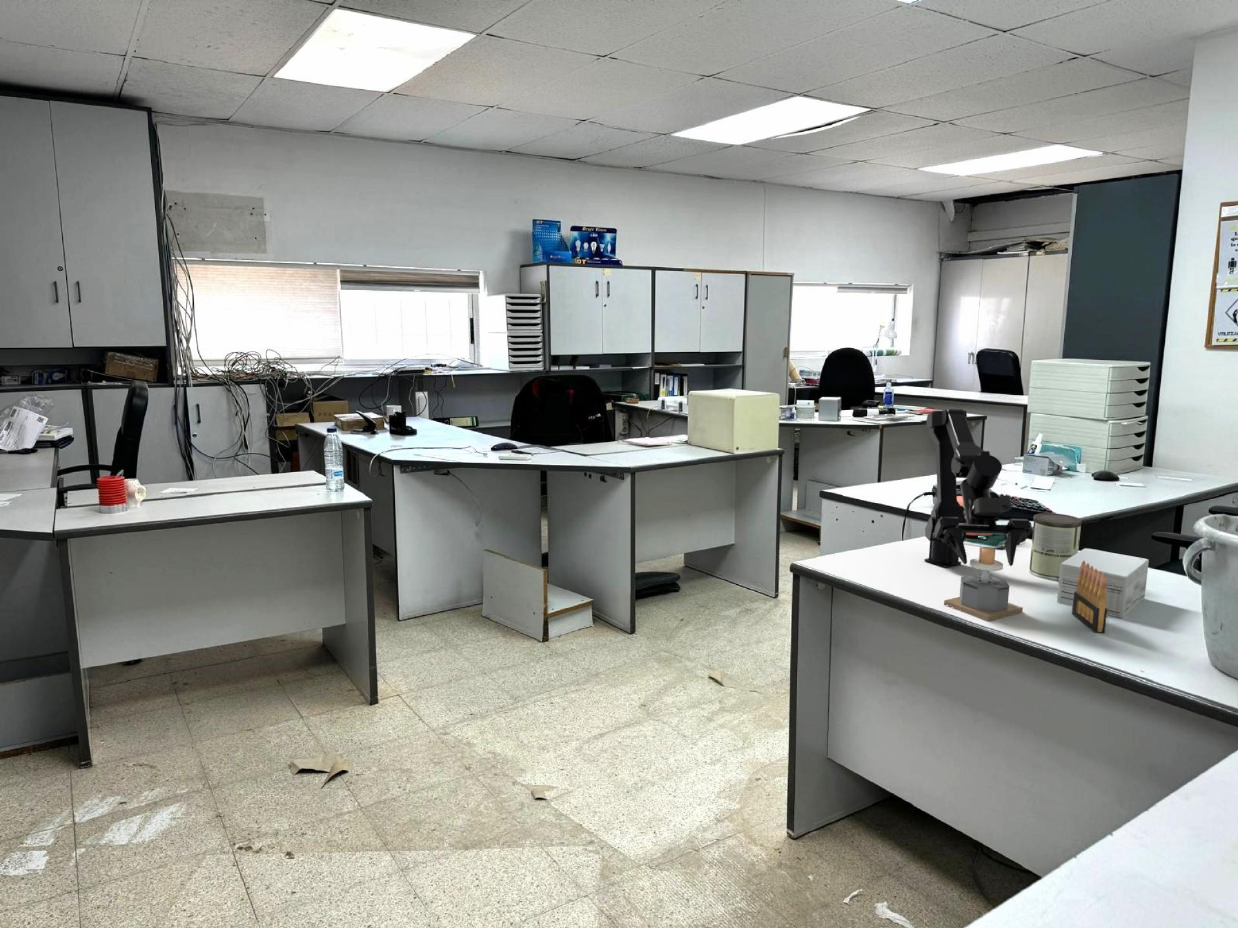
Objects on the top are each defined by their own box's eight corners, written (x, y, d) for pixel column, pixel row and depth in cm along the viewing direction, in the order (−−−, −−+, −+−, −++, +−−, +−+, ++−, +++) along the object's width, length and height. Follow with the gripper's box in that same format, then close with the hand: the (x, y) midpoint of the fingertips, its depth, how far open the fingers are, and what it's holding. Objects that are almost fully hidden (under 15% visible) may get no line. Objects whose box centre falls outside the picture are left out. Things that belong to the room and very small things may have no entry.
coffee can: (1021, 567, 205) (1026, 512, 202) (1065, 568, 204) (1070, 513, 201) (1038, 580, 195) (1044, 522, 192) (1084, 581, 194) (1090, 523, 191)
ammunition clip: (1105, 633, 162) (1111, 575, 160) (1095, 633, 162) (1101, 574, 160) (1080, 614, 172) (1086, 559, 170) (1071, 613, 173) (1077, 559, 170)
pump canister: (943, 604, 178) (945, 578, 177) (977, 596, 183) (980, 570, 182) (987, 620, 168) (990, 593, 167) (1022, 612, 174) (1024, 584, 172)
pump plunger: (961, 586, 176) (964, 547, 175) (981, 581, 179) (984, 543, 178) (987, 595, 171) (990, 554, 169) (1007, 590, 174) (1010, 550, 172)
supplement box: (1080, 585, 191) (1084, 547, 190) (1145, 599, 182) (1150, 558, 180) (1054, 603, 180) (1059, 562, 178) (1122, 618, 170) (1127, 575, 169)
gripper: (941, 480, 176) (951, 543, 167) (1033, 482, 174) (1048, 547, 165) (930, 507, 185) (939, 569, 176) (1017, 510, 183) (1030, 572, 174)
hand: (988, 564), depth 173 cm, fingers open, 9 cm apart
